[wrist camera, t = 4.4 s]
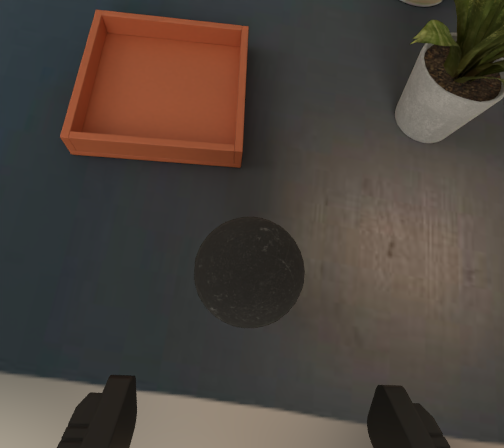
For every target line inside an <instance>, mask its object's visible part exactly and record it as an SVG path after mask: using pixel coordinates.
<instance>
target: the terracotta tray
mask: <svg viewBox="0 0 504 448" xmlns="http://www.w3.org/2000/svg"><path fill="white" fill-rule="evenodd" d="M248 28H249V27H248V26H240V25H231V24H222V23H213V22H204V21H195V20H186V19H177V18H168V17H158V16H149V15H140V14H131V13H122V12H113V11H102V10H96V11H95V15H94V19H93V22H92V26H91V29H90V33H89V36H88V40H87V43H86V47H85V50H84V54H83V58H82V61H81V65H80V68H79V72H78V75H77V79H76V82H75V86H74V89H73V93H72V96H71V100H70V104H69V107H68V111H67V114H66V118H65V121H64V125H63V128H62V132H61V135H60V138H61V139H62V141H63V142H64V144H65V145H66V147H67V148H68V150H69V151H70V153H71V154H72V155H85V156H98V157H111V158H123V159H136V160H149V161H162V162H175V163H187V164H200V165H213V166H226V167H238V168H240V167H241V160H242V152H243V133H244V112H245V91H246V70H247V49H248Z"/></svg>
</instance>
